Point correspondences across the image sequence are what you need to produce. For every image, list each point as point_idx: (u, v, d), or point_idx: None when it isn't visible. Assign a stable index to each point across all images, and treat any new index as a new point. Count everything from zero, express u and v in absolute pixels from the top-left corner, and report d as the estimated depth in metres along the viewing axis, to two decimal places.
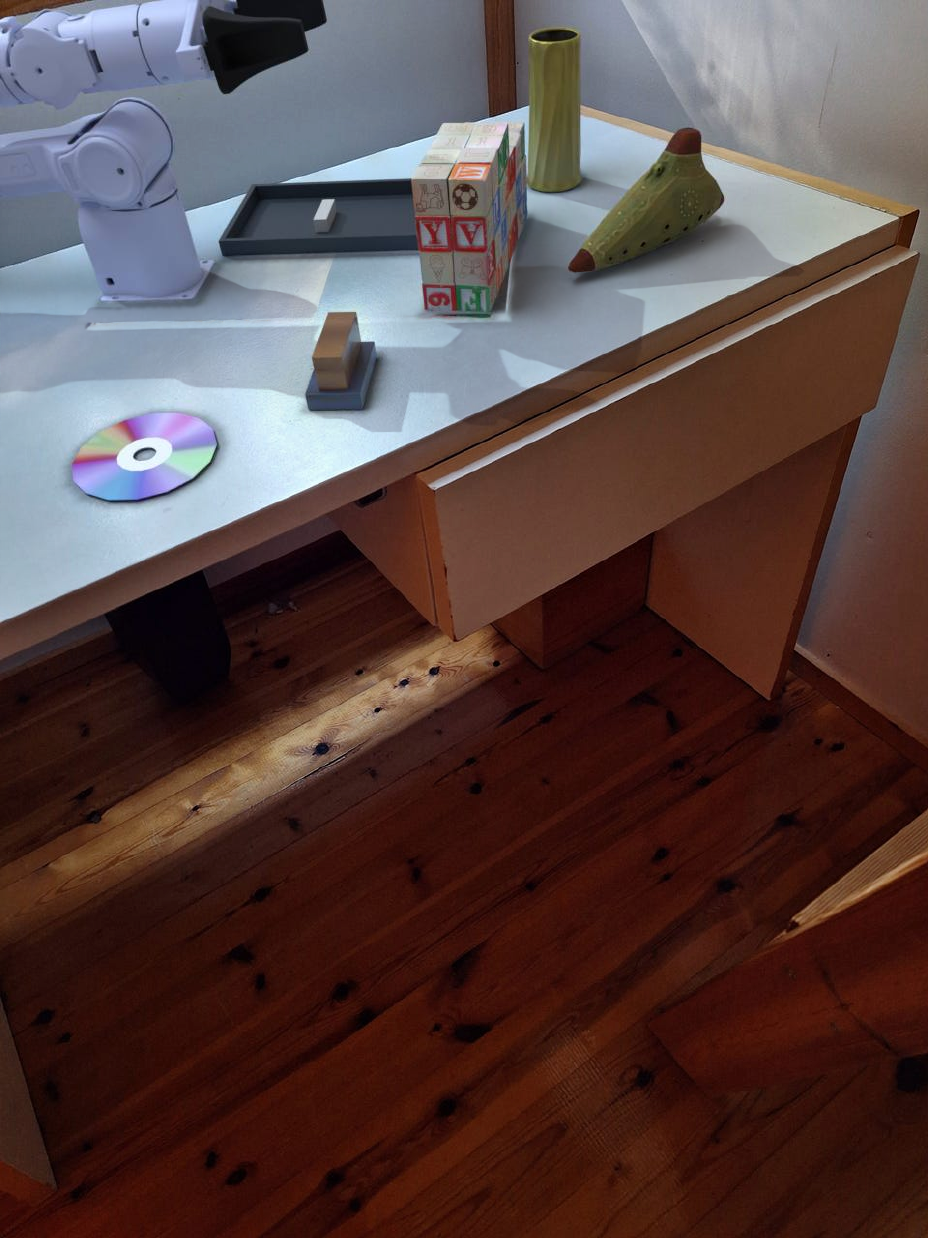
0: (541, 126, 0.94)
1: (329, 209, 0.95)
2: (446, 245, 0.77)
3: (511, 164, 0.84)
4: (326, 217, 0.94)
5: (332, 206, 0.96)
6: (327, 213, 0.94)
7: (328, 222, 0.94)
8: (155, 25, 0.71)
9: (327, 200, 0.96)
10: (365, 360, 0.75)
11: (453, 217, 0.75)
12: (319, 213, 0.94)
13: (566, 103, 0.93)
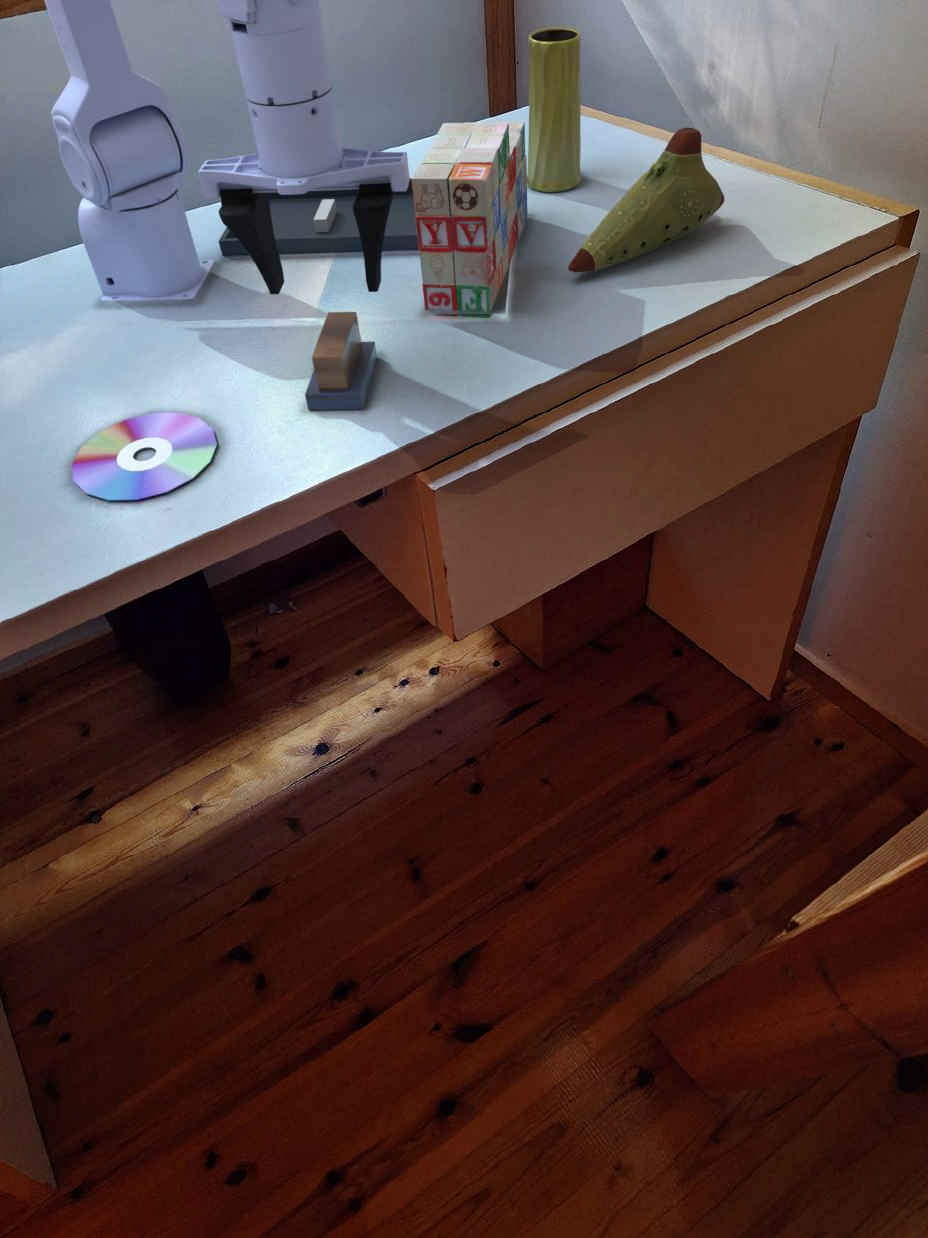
0: (541, 126, 0.94)
1: (329, 209, 0.95)
2: (447, 245, 0.77)
3: (511, 164, 0.84)
4: (326, 217, 0.94)
5: (332, 206, 0.96)
6: (327, 213, 0.94)
7: (328, 222, 0.94)
8: (254, 126, 0.60)
9: (327, 200, 0.96)
10: (365, 360, 0.75)
11: (453, 217, 0.75)
12: (319, 213, 0.94)
13: (566, 103, 0.93)
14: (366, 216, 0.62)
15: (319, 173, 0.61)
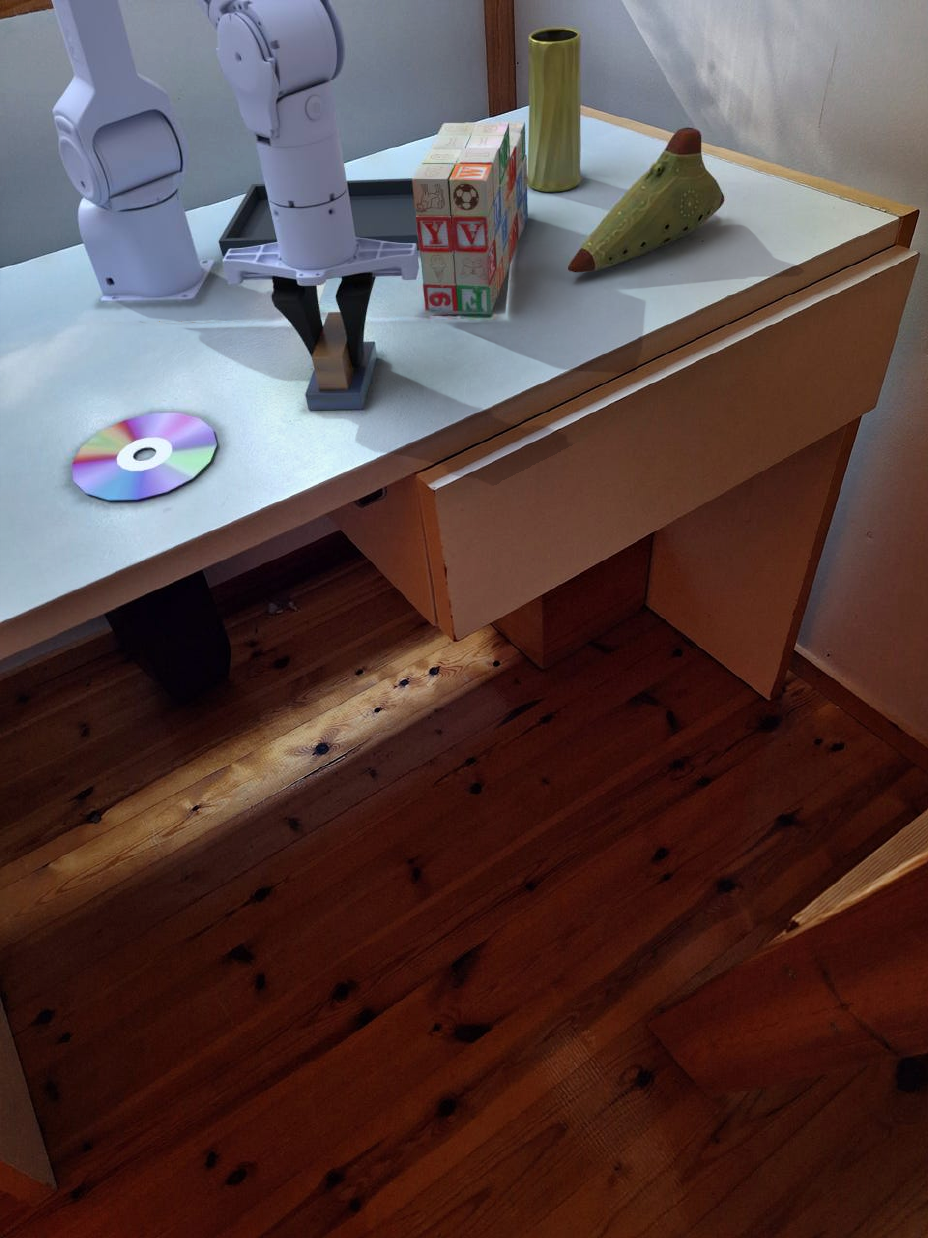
0: (541, 126, 0.94)
1: None
2: (447, 245, 0.77)
3: (512, 164, 0.84)
4: None
5: None
6: None
7: None
8: (275, 223, 0.64)
9: None
10: (366, 360, 0.75)
11: (454, 217, 0.75)
12: None
13: (566, 103, 0.93)
14: (348, 304, 0.67)
15: (335, 265, 0.66)
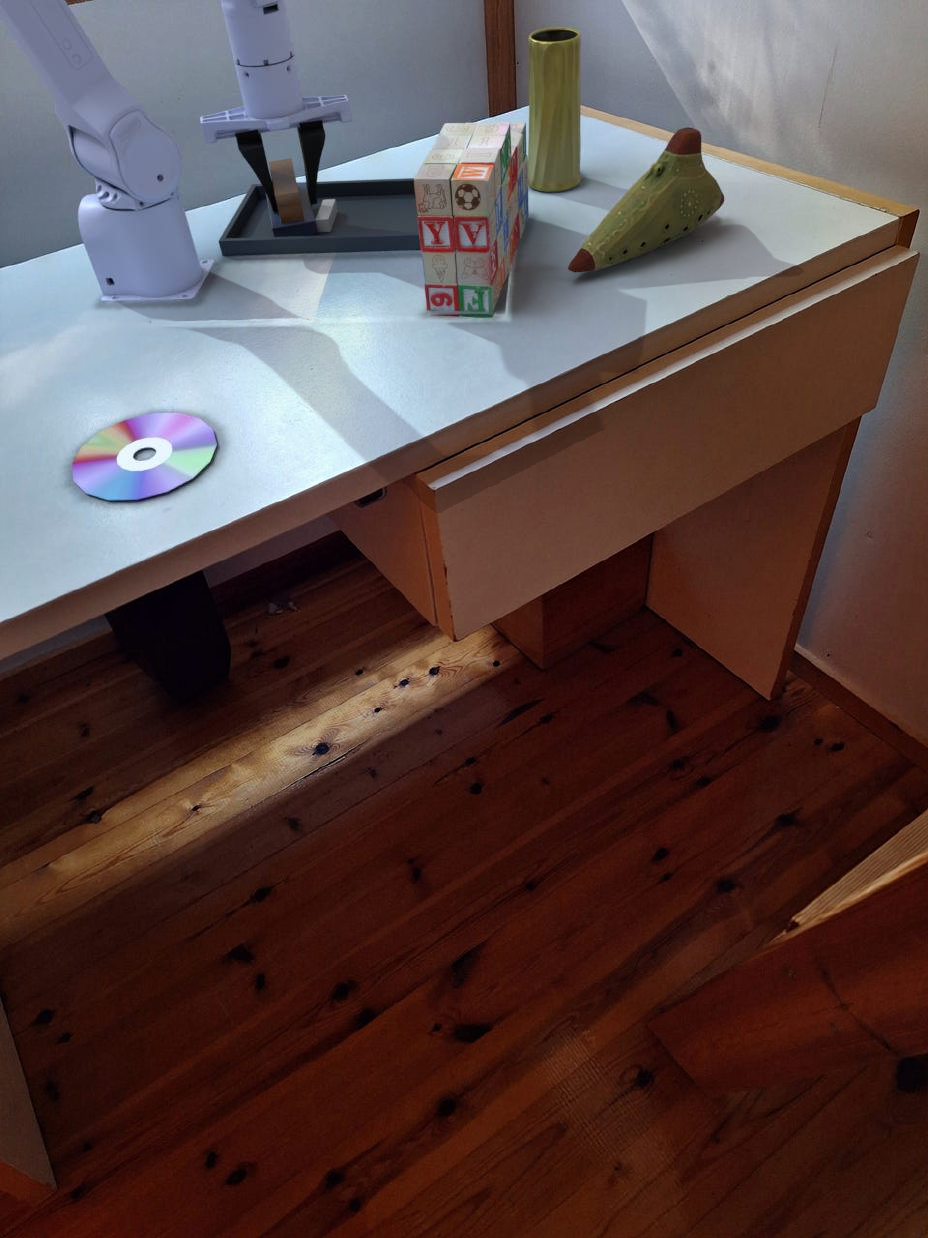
0: (541, 126, 0.94)
1: (330, 209, 0.95)
2: (449, 245, 0.77)
3: (513, 164, 0.84)
4: (328, 217, 0.94)
5: (333, 206, 0.96)
6: (328, 213, 0.94)
7: (330, 222, 0.94)
8: (245, 83, 0.85)
9: (328, 200, 0.96)
10: (306, 196, 0.96)
11: (455, 217, 0.75)
12: (321, 213, 0.94)
13: (566, 103, 0.93)
14: (310, 144, 0.89)
15: (294, 113, 0.87)
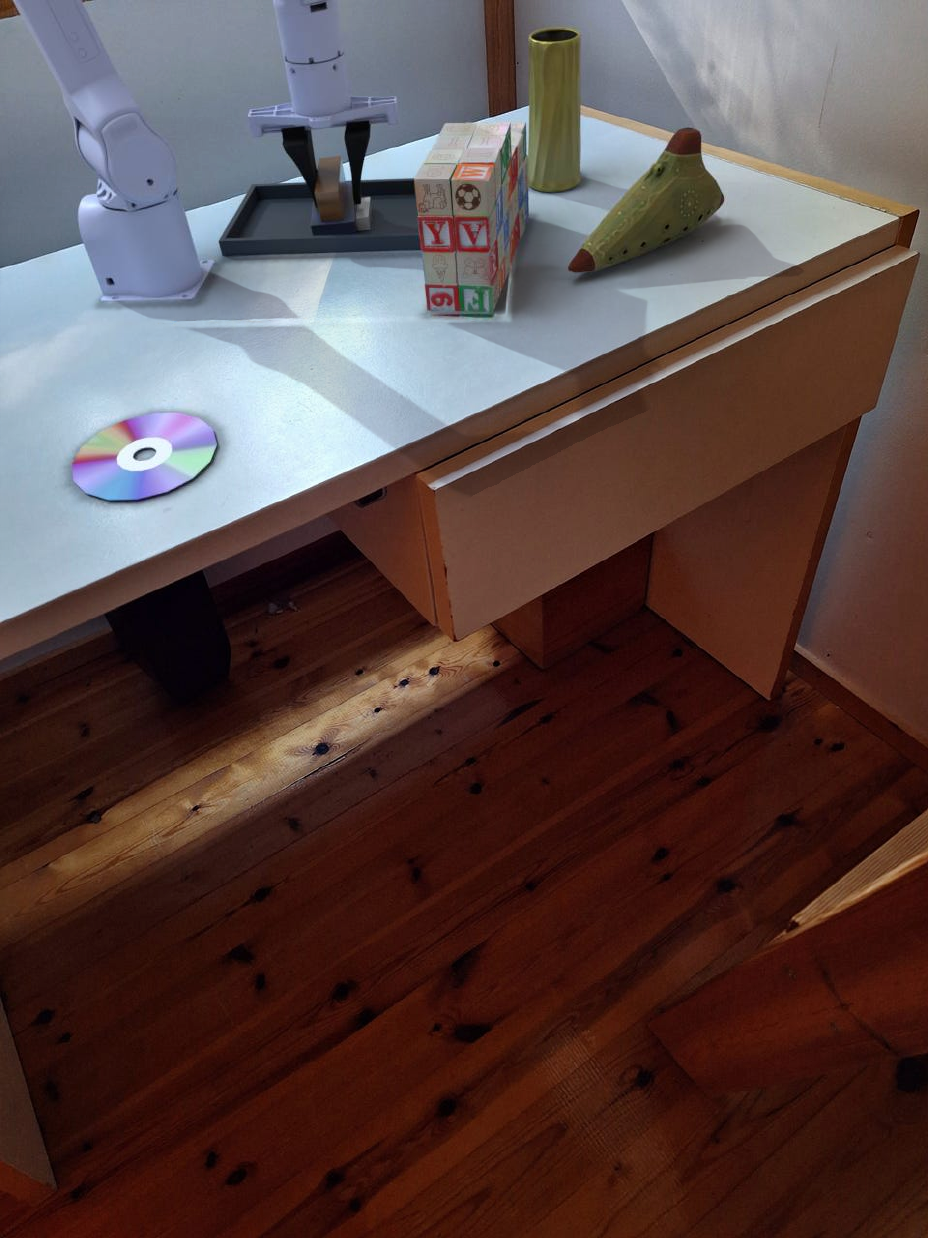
0: (541, 126, 0.94)
1: (368, 207, 0.95)
2: (449, 245, 0.77)
3: (513, 164, 0.84)
4: (368, 215, 0.93)
5: (370, 204, 0.95)
6: (367, 211, 0.94)
7: (369, 220, 0.94)
8: (291, 80, 0.84)
9: (363, 198, 0.96)
10: (352, 195, 0.95)
11: (456, 217, 0.75)
12: (359, 211, 0.94)
13: (566, 103, 0.93)
14: (354, 144, 0.88)
15: (338, 112, 0.86)
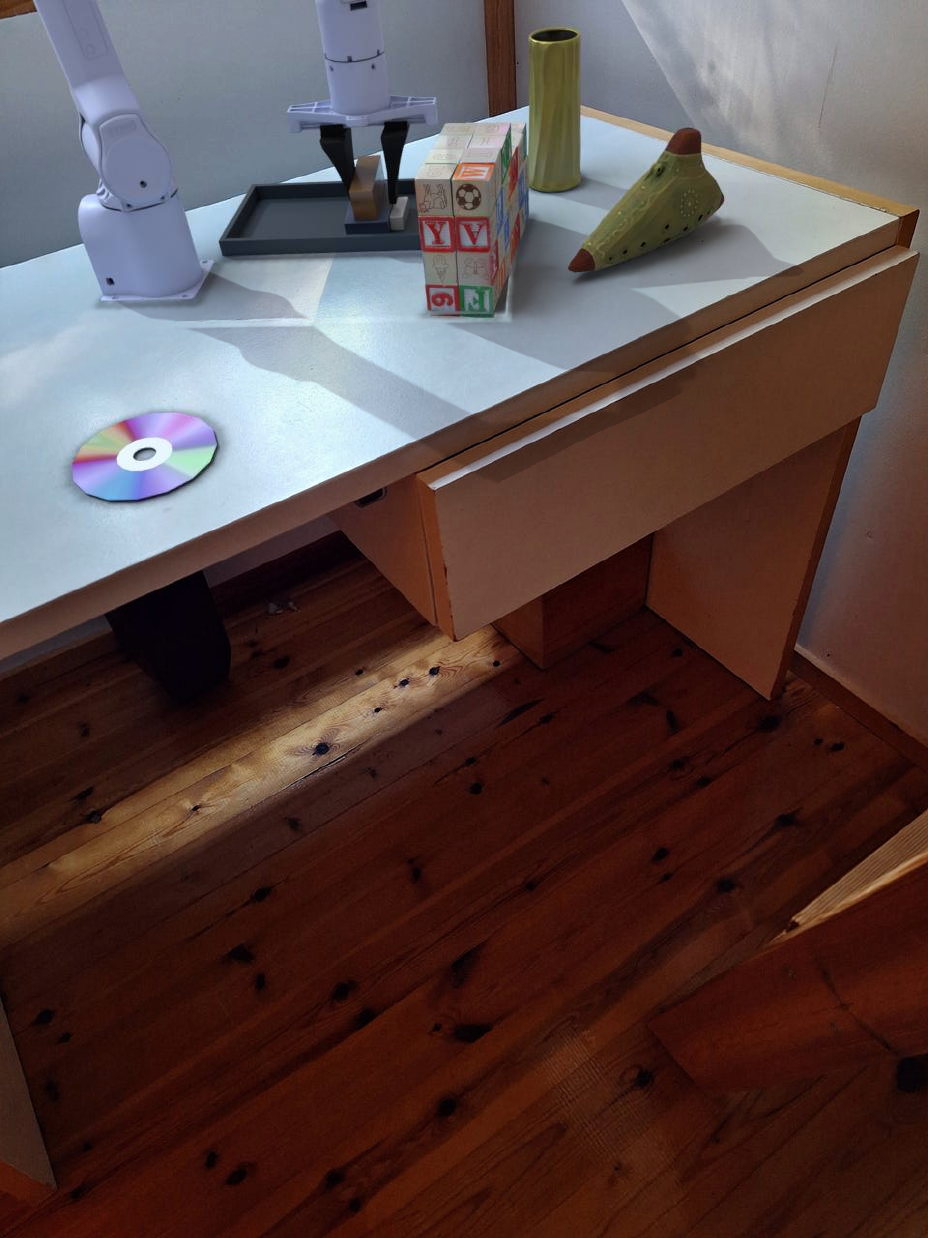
0: (541, 126, 0.94)
1: (404, 207, 0.94)
2: (450, 245, 0.77)
3: (513, 164, 0.84)
4: (402, 215, 0.93)
5: (406, 204, 0.95)
6: (402, 211, 0.93)
7: (404, 220, 0.93)
8: (330, 77, 0.84)
9: (400, 198, 0.96)
10: None
11: (456, 217, 0.75)
12: (394, 211, 0.93)
13: (566, 103, 0.93)
14: (390, 144, 0.87)
15: (375, 111, 0.86)
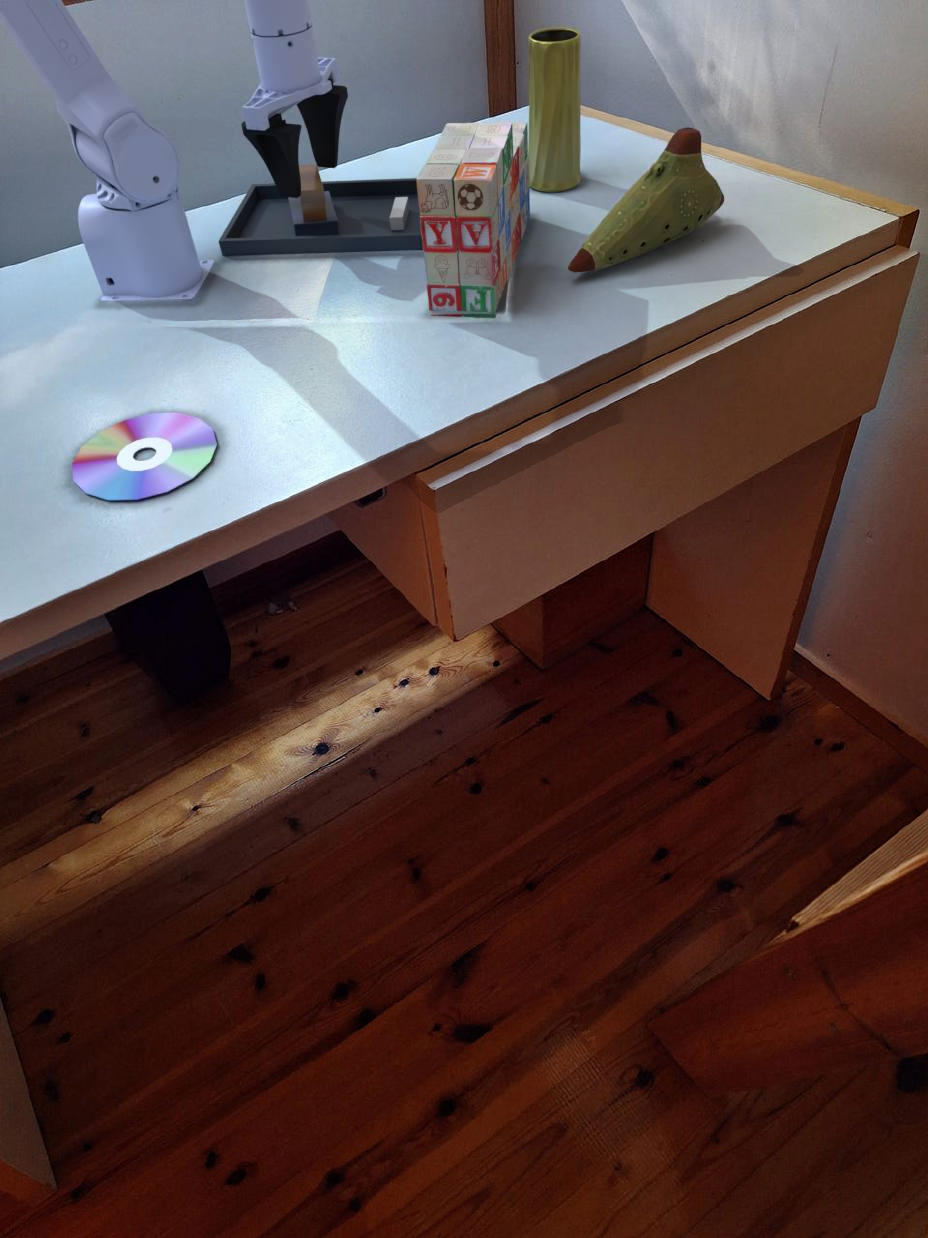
0: (541, 126, 0.94)
1: (404, 207, 0.94)
2: (451, 245, 0.77)
3: (515, 164, 0.84)
4: (402, 215, 0.93)
5: (406, 204, 0.95)
6: (402, 211, 0.93)
7: (404, 220, 0.93)
8: (288, 54, 0.82)
9: (400, 198, 0.96)
10: (329, 201, 0.96)
11: (458, 217, 0.75)
12: (394, 211, 0.93)
13: (566, 103, 0.93)
14: (342, 99, 0.90)
15: (321, 76, 0.87)
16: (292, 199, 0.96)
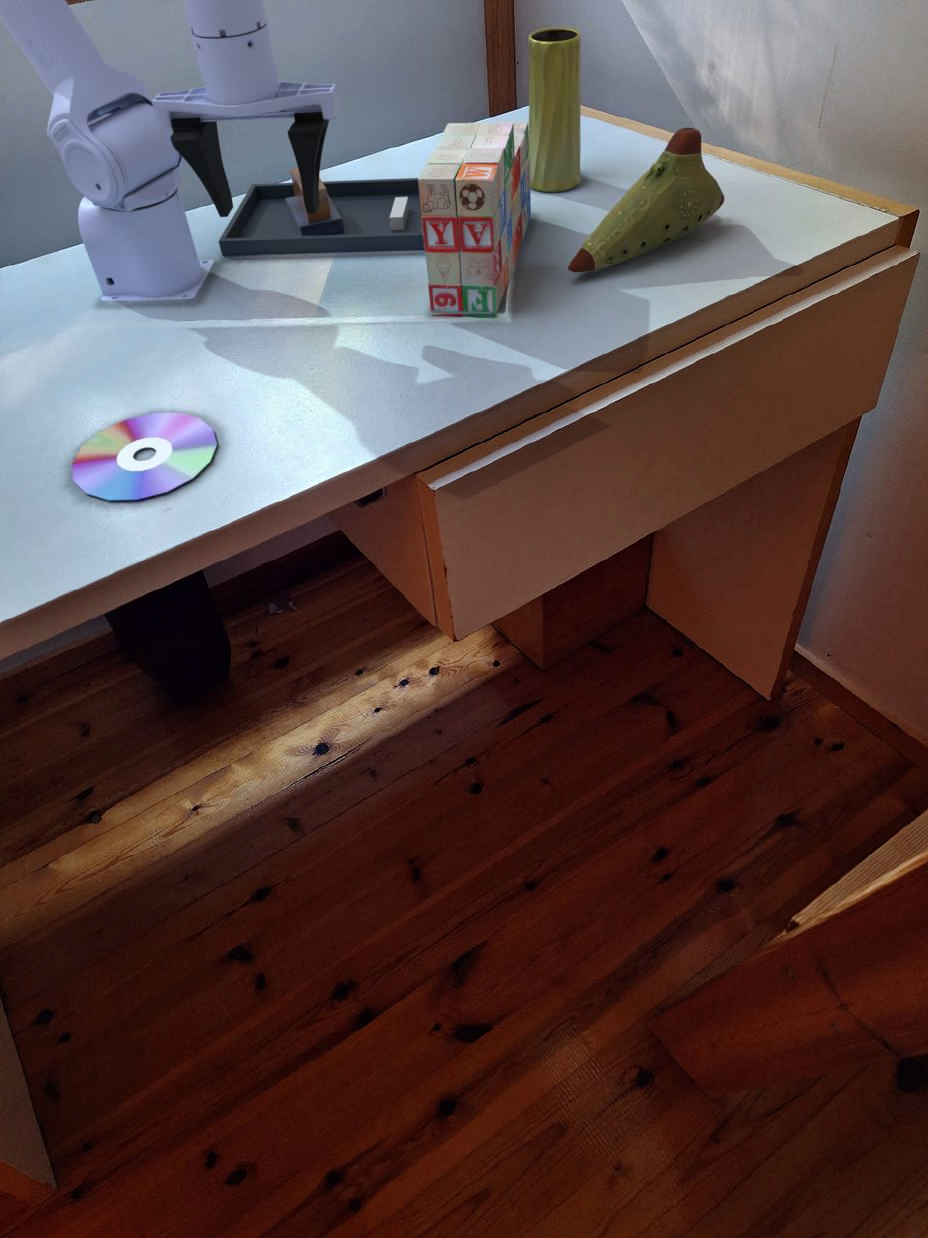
0: (541, 126, 0.94)
1: (404, 207, 0.94)
2: (453, 245, 0.77)
3: (516, 164, 0.84)
4: (402, 215, 0.93)
5: (406, 204, 0.95)
6: (402, 211, 0.93)
7: (404, 220, 0.93)
8: None
9: (400, 198, 0.96)
10: (328, 200, 0.96)
11: (460, 217, 0.75)
12: (394, 211, 0.93)
13: (566, 103, 0.93)
14: None
15: None
16: (291, 203, 0.96)
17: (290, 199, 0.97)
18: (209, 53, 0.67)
